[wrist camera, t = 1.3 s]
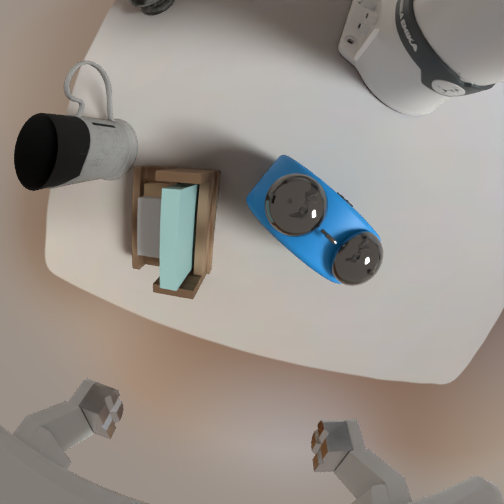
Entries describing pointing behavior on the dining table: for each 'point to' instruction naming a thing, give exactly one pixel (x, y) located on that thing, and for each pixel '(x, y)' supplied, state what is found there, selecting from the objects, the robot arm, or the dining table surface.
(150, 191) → the oak offcut
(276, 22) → the dining table surface
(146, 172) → the rack
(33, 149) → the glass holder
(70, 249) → the dining table surface
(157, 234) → the grey offcut
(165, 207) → the panel
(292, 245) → the alarm clock
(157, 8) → the dark grey figurine
